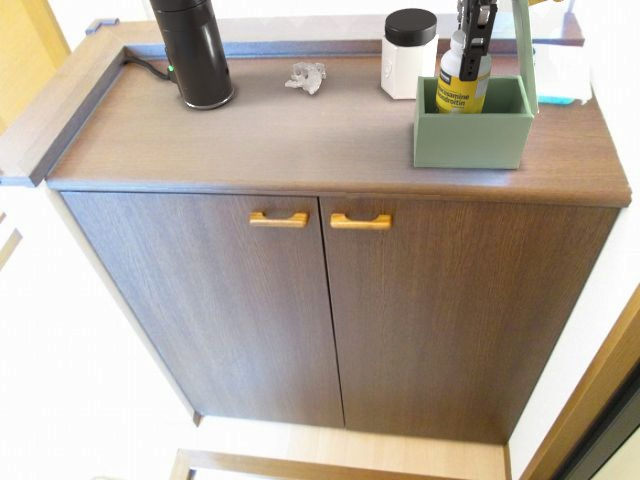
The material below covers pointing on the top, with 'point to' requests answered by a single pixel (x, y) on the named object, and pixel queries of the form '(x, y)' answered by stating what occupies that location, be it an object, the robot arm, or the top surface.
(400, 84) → the jar
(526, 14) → the lid
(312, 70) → the pelvis model
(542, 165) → the top surface
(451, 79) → the pill bottle
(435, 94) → the chest
